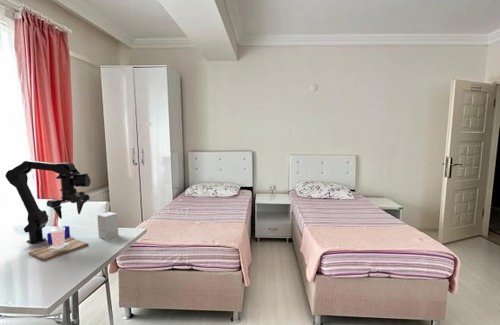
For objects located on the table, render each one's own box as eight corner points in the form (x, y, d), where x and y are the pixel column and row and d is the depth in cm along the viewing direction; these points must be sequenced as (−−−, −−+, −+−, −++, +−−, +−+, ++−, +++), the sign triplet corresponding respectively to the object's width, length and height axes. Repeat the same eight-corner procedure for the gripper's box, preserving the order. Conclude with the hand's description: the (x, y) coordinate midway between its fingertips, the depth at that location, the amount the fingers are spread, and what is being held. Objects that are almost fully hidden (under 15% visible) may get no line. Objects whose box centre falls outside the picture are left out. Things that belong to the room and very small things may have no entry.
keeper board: (28, 254, 135) (28, 251, 134) (73, 240, 152) (72, 237, 152) (43, 261, 127) (43, 258, 127) (88, 245, 145) (88, 242, 144)
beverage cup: (52, 245, 141) (50, 218, 139) (67, 243, 143) (65, 216, 142) (50, 250, 135) (47, 221, 134) (65, 248, 138) (63, 219, 136)
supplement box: (119, 235, 158) (117, 213, 157) (106, 240, 152) (104, 216, 151) (111, 233, 162) (109, 211, 161) (98, 237, 156) (96, 214, 155)
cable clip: (62, 236, 158) (61, 225, 158) (70, 236, 158) (69, 226, 157) (45, 245, 146) (44, 233, 146) (53, 245, 146) (52, 233, 145)
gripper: (56, 191, 137) (59, 223, 139) (94, 185, 153) (96, 214, 155) (44, 189, 143) (47, 220, 144) (82, 183, 159) (84, 211, 160)
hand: (70, 216), depth 151 cm, fingers open, 9 cm apart
